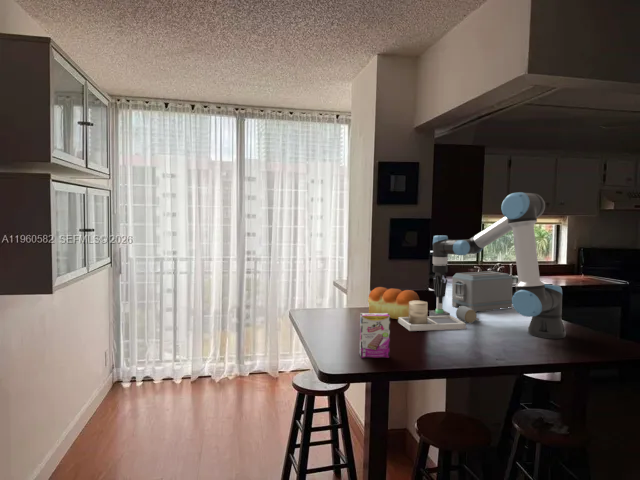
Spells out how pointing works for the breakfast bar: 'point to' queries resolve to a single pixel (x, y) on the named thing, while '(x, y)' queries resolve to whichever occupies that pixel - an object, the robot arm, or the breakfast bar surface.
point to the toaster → (482, 290)
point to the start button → (439, 310)
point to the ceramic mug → (466, 314)
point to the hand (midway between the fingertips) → (439, 308)
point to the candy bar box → (374, 335)
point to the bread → (391, 301)
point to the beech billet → (418, 312)
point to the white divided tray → (433, 323)
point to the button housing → (433, 313)
